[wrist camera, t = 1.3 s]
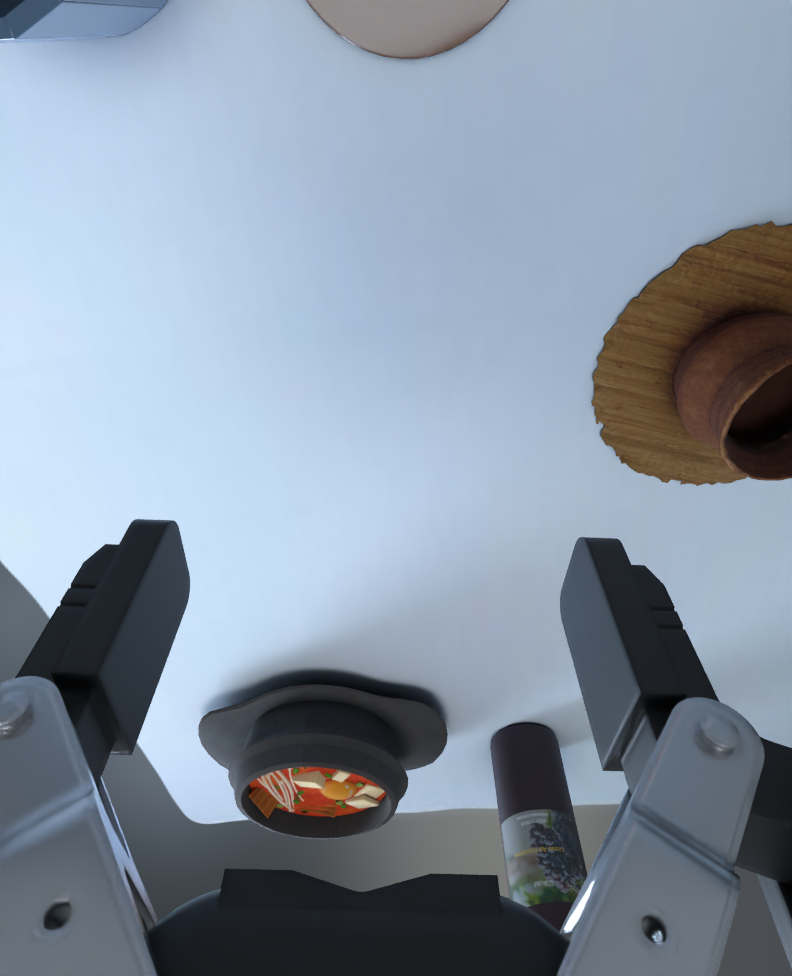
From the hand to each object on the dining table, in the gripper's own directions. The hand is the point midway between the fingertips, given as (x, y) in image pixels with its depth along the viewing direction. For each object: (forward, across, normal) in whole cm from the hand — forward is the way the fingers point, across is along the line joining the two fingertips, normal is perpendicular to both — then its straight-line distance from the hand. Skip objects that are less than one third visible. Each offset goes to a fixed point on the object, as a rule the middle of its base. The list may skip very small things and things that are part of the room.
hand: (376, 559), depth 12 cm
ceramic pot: (+26, -22, +8) cm, 35 cm away
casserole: (+26, +5, +49) cm, 56 cm away
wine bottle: (+26, -16, +51) cm, 60 cm away
